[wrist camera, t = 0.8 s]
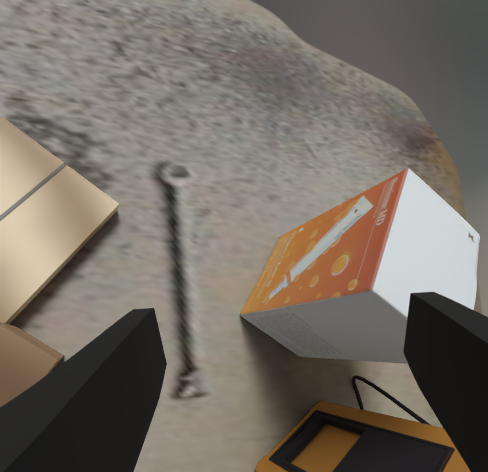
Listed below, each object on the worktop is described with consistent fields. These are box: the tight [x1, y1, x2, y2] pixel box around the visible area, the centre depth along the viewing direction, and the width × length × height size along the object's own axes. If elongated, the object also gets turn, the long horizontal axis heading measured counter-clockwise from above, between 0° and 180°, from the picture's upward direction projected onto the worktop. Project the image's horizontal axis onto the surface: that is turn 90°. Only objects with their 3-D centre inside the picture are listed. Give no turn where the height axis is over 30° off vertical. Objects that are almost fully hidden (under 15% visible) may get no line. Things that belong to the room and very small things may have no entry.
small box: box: [240, 169, 480, 363], centre depth 21 cm, size 8×6×13 cm
